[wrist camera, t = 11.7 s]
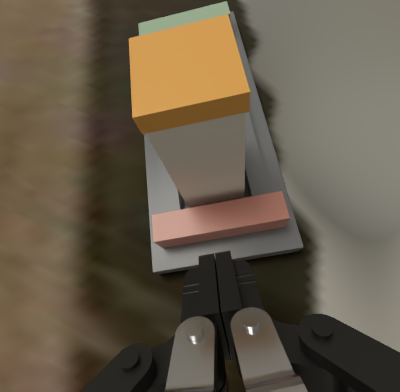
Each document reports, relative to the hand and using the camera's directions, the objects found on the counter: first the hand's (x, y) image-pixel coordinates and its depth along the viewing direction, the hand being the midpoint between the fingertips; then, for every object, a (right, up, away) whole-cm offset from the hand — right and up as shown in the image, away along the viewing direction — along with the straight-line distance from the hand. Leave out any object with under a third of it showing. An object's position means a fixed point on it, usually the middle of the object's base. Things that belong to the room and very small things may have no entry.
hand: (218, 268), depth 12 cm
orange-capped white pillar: (0, +5, +7) cm, 8 cm away
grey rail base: (-1, +10, +11) cm, 15 cm away
